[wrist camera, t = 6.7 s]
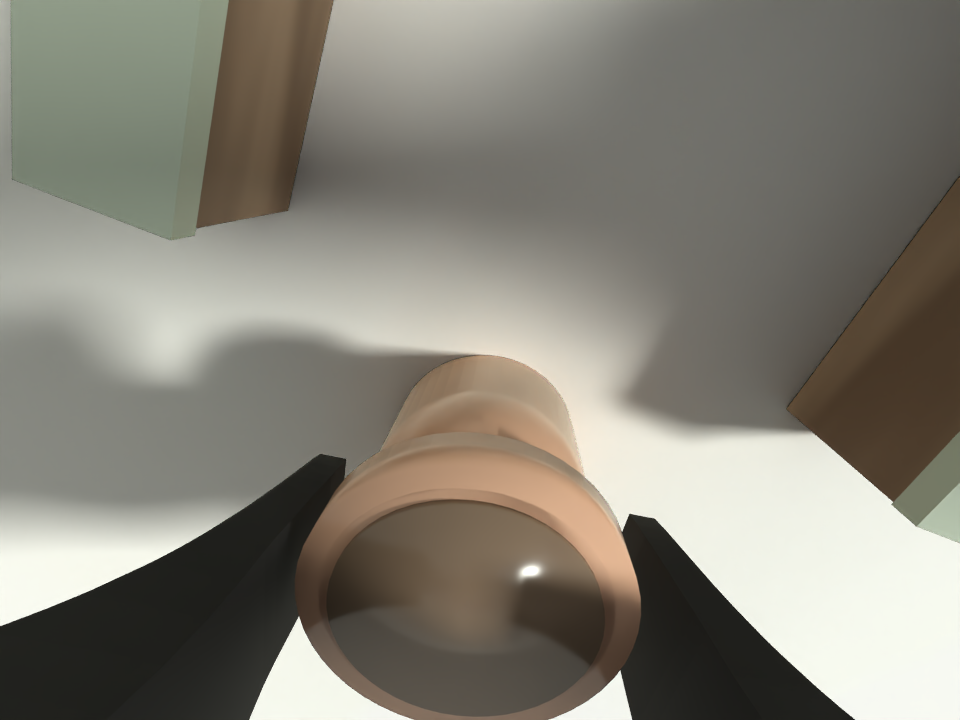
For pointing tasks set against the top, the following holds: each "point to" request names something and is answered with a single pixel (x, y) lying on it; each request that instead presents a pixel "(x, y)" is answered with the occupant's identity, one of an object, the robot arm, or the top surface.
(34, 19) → the green brown u-shaped frame
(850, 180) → the top surface
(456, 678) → the seedling pot
